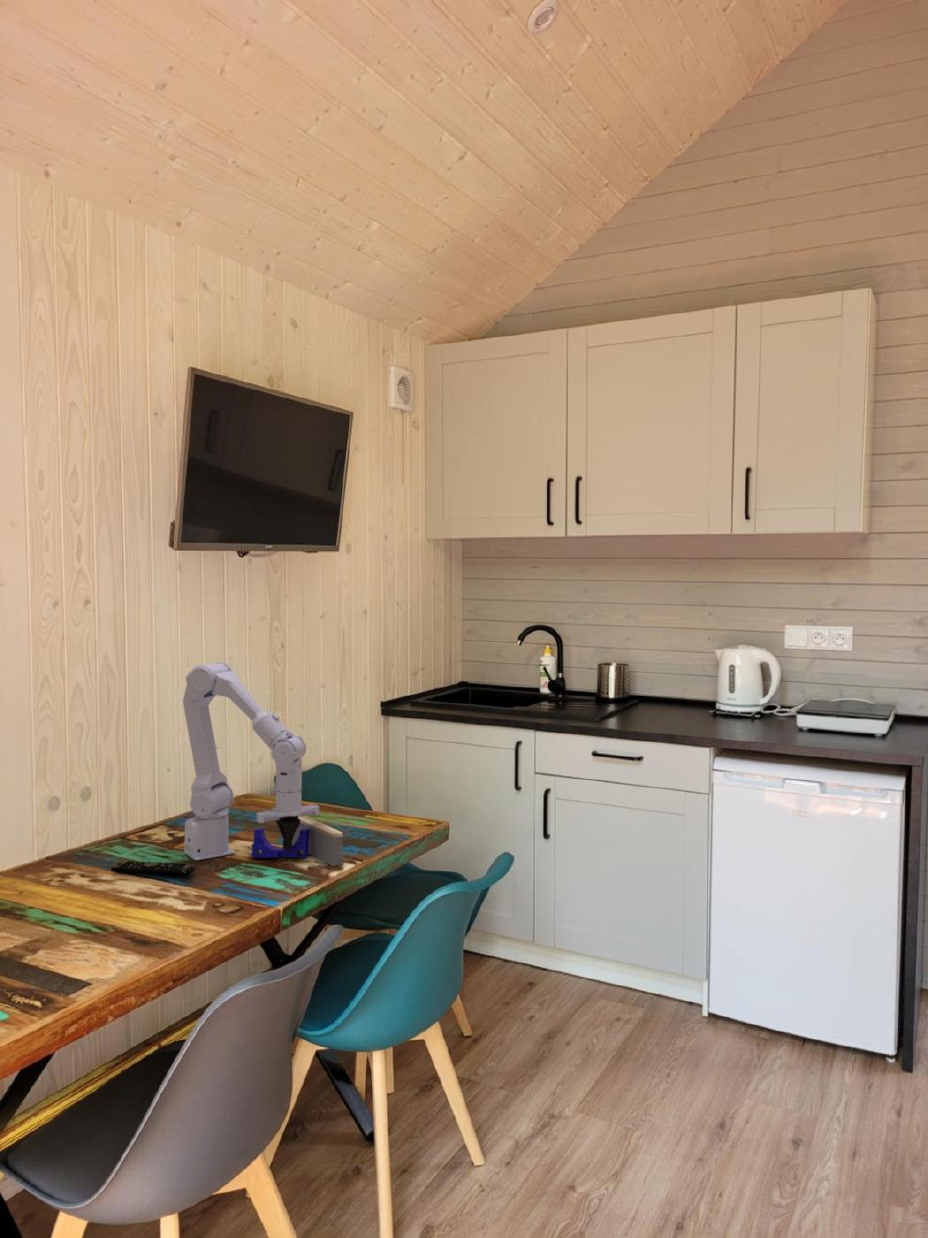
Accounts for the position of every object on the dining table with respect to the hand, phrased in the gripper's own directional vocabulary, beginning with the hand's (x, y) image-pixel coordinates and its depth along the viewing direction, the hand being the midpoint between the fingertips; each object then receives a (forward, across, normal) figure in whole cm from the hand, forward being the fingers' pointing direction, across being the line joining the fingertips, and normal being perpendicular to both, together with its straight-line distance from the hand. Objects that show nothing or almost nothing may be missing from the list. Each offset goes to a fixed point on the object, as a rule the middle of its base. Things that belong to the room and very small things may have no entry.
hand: (288, 849), depth 212 cm
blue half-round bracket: (+2, -1, +3) cm, 4 cm away
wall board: (+2, +7, 0) cm, 8 cm away
